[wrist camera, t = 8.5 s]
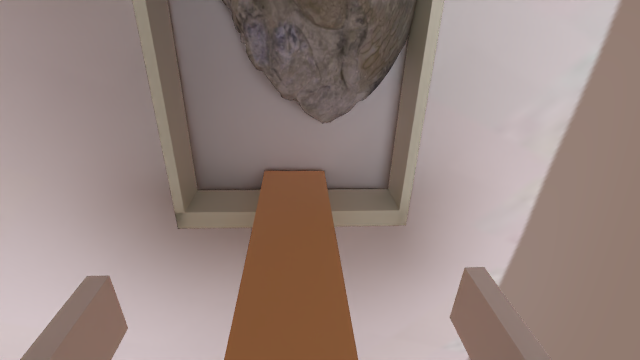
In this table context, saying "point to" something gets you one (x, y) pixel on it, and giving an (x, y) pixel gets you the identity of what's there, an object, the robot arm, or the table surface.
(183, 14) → the table surface
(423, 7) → the sled
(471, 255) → the table surface
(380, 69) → the fossilized seashell
